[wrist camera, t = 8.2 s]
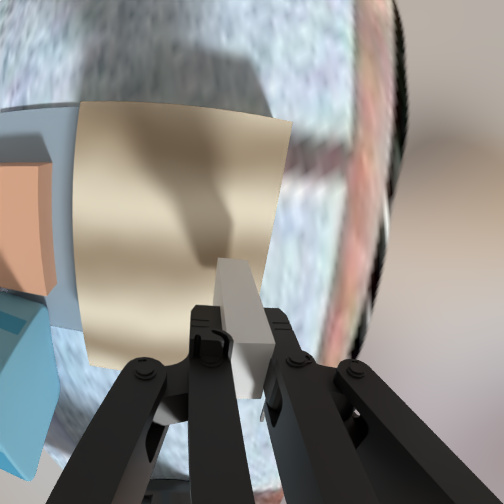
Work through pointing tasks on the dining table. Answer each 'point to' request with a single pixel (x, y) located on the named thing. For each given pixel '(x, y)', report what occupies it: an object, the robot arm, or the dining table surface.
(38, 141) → the mat
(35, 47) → the dining table surface
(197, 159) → the plate
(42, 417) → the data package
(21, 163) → the salmon orange flat block
